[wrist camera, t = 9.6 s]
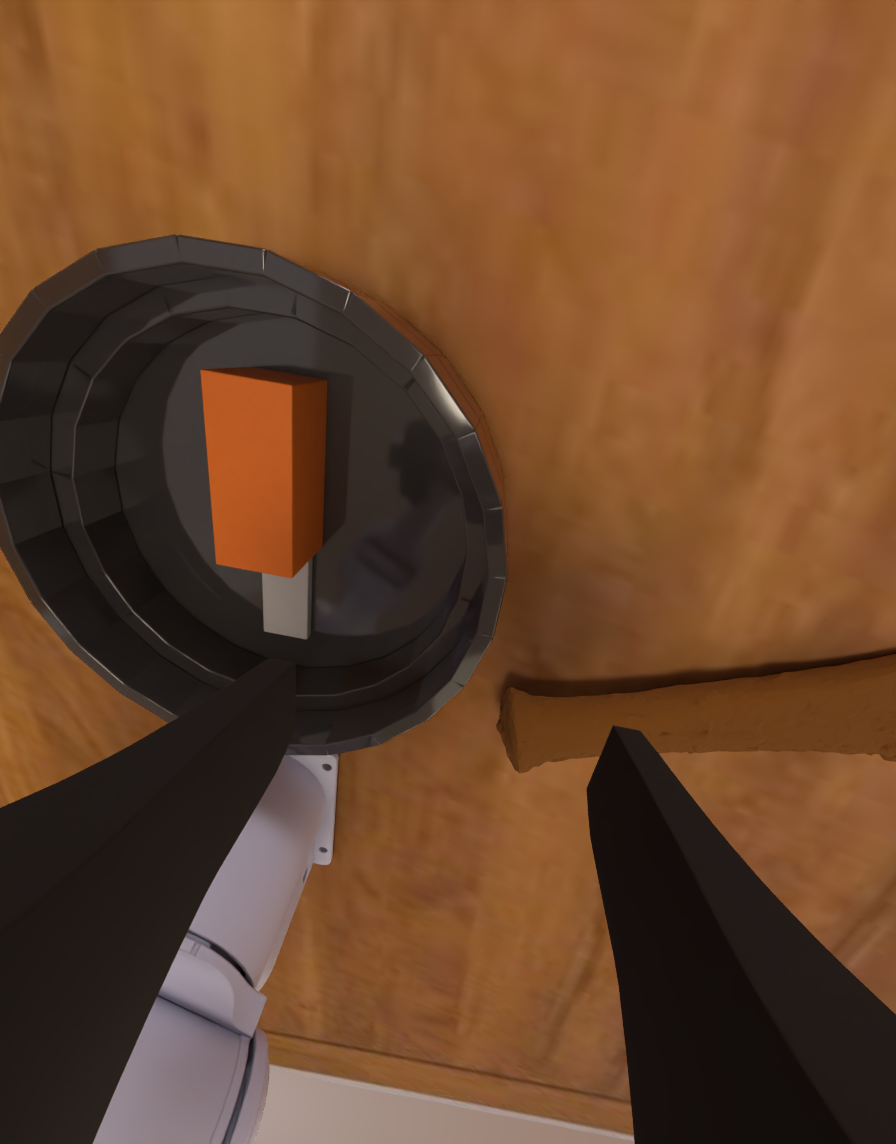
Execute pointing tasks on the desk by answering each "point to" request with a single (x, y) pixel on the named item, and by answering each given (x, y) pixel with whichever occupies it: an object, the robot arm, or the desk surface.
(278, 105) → the desk surface
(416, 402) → the bowl
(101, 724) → the desk surface
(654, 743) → the primitive tool
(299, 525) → the chisel
